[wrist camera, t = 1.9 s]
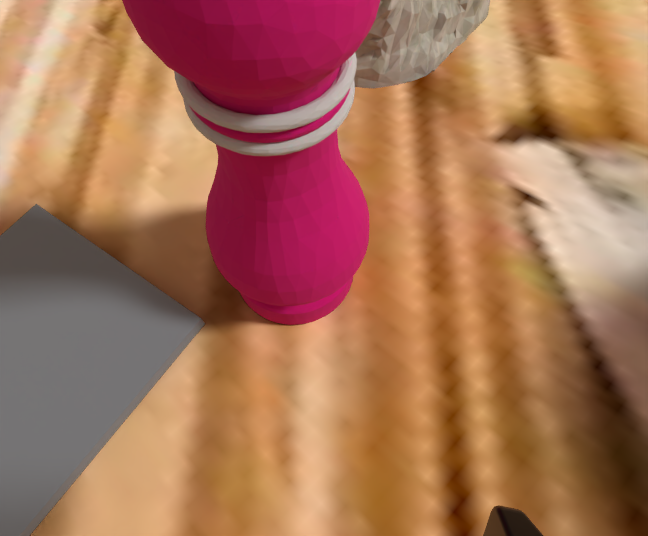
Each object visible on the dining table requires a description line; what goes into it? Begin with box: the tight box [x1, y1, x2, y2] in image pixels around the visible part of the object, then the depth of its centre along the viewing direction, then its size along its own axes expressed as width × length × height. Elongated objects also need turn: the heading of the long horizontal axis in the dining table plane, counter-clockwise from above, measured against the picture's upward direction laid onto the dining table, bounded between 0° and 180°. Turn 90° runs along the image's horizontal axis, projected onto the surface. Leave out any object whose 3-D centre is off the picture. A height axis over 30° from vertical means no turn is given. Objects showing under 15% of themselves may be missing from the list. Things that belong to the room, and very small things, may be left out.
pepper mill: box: [122, 0, 380, 325], centre depth 16 cm, size 7×7×20 cm
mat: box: [0, 204, 205, 536], centre depth 22 cm, size 12×12×1 cm
